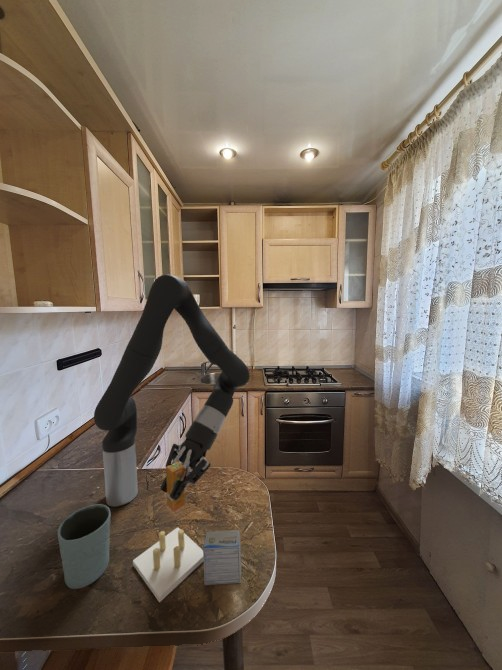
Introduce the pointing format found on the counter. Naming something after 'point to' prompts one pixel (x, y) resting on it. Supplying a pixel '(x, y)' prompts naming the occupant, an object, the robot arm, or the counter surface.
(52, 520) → the counter surface
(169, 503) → the supplement box
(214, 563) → the medicine box
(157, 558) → the pin plate
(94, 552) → the teal embossed cup
